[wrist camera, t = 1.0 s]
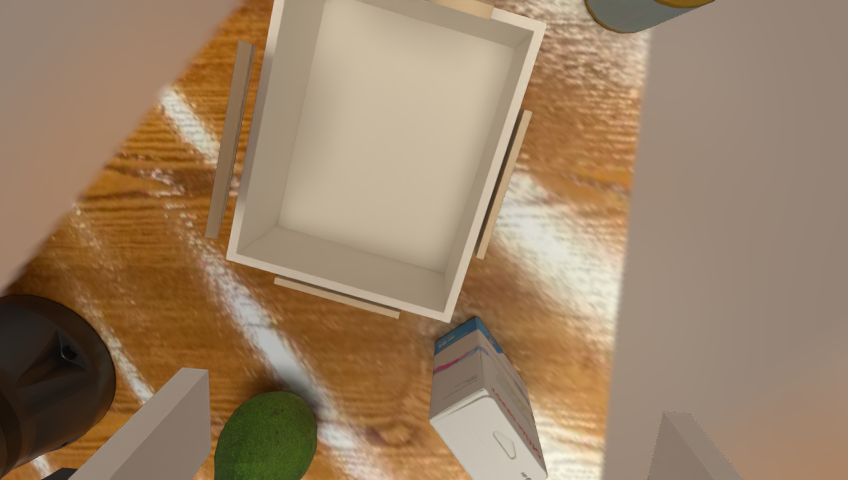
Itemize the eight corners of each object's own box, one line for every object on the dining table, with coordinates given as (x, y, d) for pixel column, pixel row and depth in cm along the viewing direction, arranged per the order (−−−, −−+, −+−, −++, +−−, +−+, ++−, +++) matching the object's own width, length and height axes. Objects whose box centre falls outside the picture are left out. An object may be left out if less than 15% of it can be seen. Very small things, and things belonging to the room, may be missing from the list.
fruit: (323, 371, 46) (281, 459, 34) (332, 444, 48) (294, 551, 36) (241, 372, 46) (171, 460, 34) (252, 445, 48) (190, 551, 36)
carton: (269, 238, 43) (223, 270, 34) (323, -17, 37) (285, -56, 28) (455, 291, 43) (457, 337, 34) (534, 47, 38) (561, 27, 29)
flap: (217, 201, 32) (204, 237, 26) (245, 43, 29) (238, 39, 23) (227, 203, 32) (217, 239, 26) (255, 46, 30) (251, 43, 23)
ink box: (430, 342, 44) (424, 422, 33) (477, 314, 43) (487, 386, 32) (481, 412, 46) (493, 512, 35) (528, 386, 45) (555, 480, 34)
